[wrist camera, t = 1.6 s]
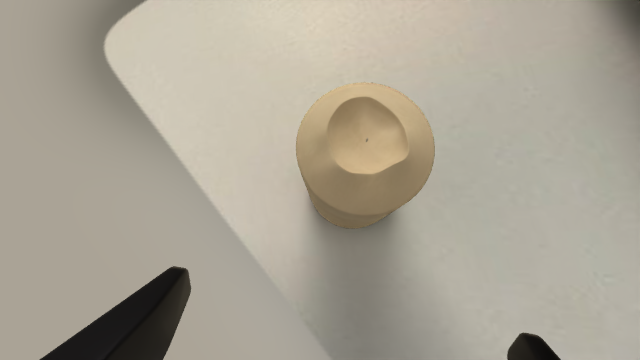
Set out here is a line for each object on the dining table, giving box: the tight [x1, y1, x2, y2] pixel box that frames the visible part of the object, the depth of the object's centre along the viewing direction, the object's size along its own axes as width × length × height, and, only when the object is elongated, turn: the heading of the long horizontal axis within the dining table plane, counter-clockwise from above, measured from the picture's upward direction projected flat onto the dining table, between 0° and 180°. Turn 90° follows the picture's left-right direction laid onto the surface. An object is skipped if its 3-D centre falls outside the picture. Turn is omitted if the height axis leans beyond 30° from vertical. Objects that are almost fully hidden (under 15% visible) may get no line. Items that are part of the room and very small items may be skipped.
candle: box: [296, 83, 435, 228], centre depth 17 cm, size 6×6×10 cm
